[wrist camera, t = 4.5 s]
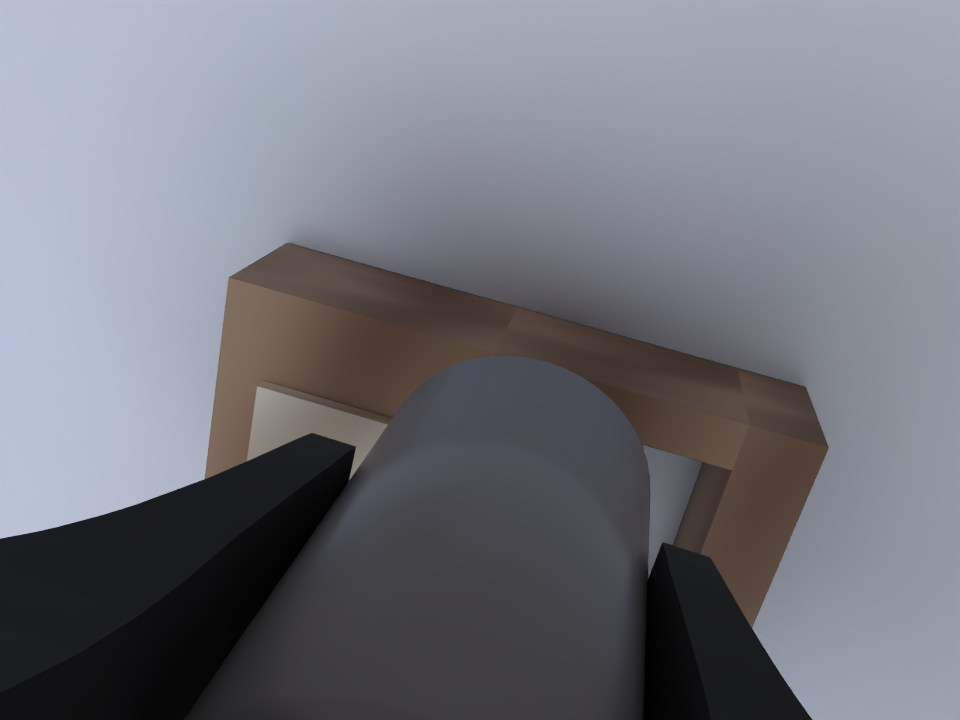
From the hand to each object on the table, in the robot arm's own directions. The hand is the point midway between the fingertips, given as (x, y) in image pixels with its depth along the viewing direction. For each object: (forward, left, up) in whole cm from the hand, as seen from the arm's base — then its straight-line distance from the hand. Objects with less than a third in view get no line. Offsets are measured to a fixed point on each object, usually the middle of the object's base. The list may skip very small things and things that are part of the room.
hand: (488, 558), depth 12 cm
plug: (0, 0, -2) cm, 2 cm away
